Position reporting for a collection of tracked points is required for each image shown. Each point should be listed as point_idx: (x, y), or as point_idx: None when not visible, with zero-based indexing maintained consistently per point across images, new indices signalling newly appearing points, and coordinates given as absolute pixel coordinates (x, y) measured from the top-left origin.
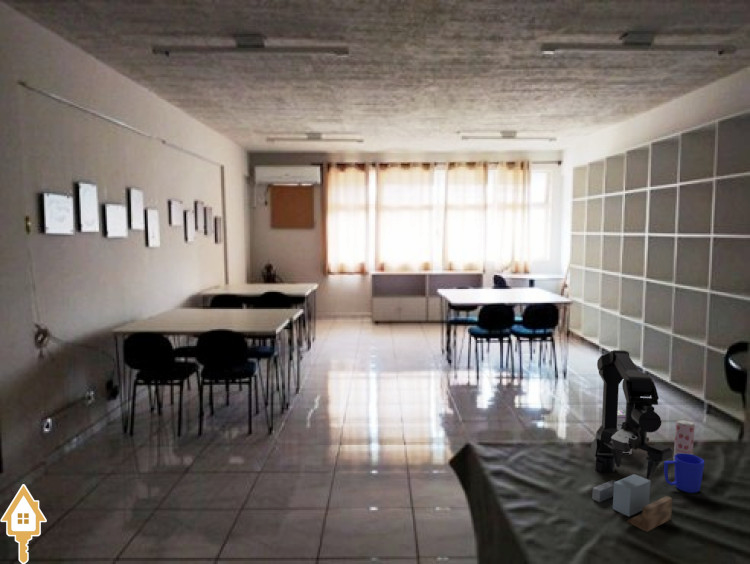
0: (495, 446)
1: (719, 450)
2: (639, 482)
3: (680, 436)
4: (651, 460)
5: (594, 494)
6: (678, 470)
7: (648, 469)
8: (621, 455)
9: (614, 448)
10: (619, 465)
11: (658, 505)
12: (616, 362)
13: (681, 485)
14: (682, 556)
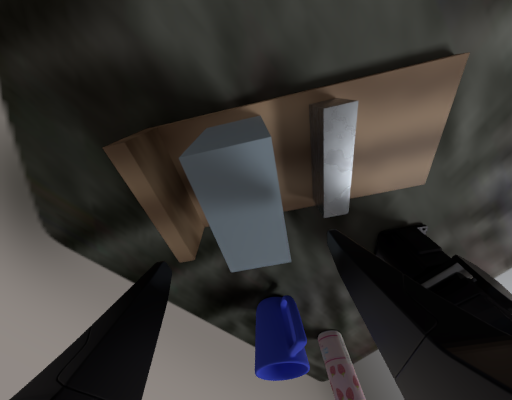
0: None
1: (323, 366)
2: (230, 236)
3: (349, 392)
4: None
5: (337, 100)
6: (283, 333)
7: (112, 318)
8: (361, 310)
9: (470, 372)
10: (329, 245)
11: (143, 206)
12: None
13: (272, 305)
14: (12, 119)
